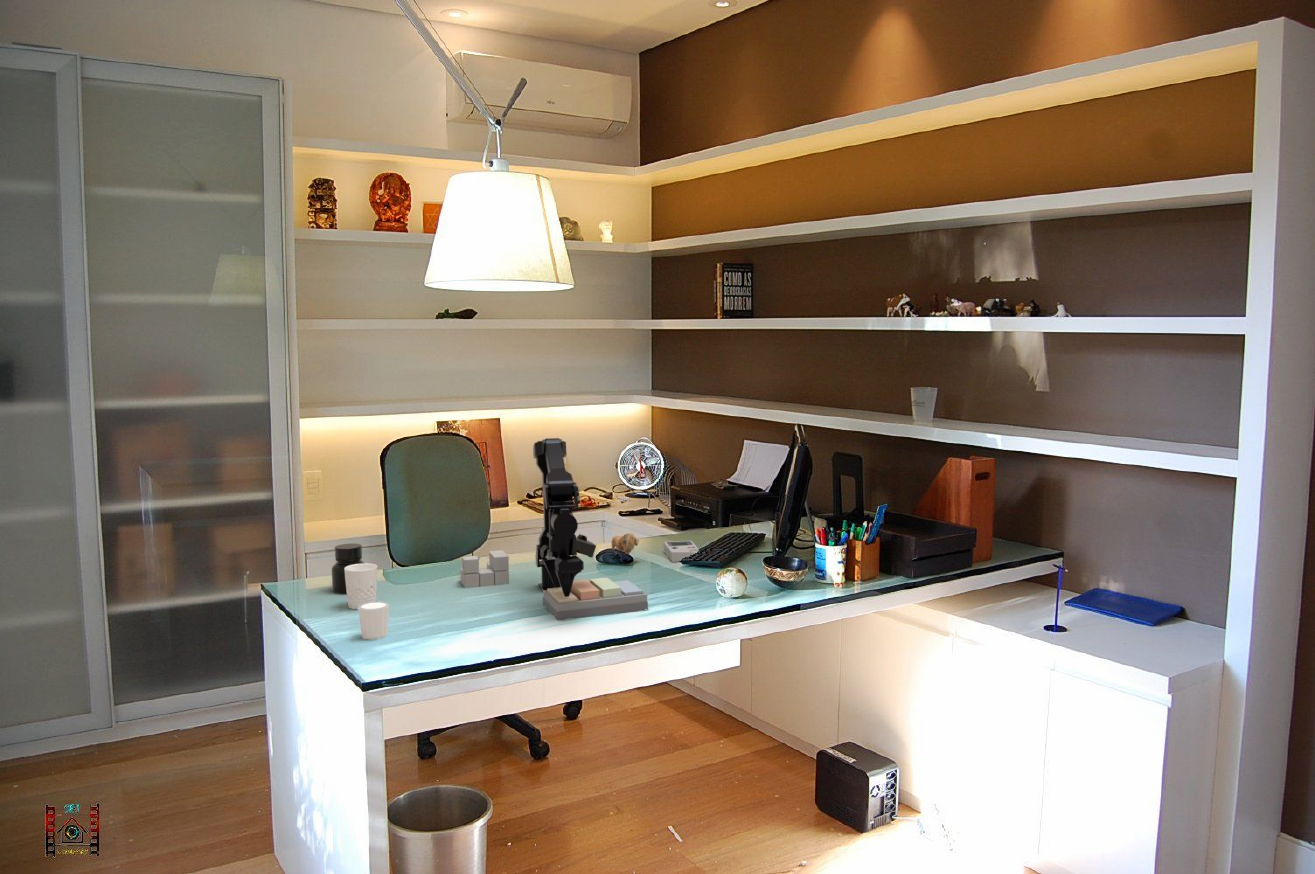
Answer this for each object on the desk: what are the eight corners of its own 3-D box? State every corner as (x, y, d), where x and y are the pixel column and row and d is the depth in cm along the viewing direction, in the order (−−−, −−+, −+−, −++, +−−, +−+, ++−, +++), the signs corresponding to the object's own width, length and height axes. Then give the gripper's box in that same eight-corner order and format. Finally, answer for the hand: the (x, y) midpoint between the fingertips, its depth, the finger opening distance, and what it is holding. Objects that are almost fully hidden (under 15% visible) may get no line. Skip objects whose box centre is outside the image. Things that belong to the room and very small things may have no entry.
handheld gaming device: (671, 563, 285) (671, 551, 284) (663, 552, 299) (663, 540, 299) (700, 562, 286) (700, 550, 286) (691, 551, 300) (691, 539, 300)
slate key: (611, 591, 245) (611, 582, 245) (628, 589, 247) (628, 580, 247) (625, 602, 235) (625, 592, 235) (642, 600, 237) (642, 590, 236)
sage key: (590, 588, 243) (590, 579, 243) (607, 586, 245) (607, 577, 245) (603, 599, 233) (603, 589, 233) (621, 597, 235) (621, 587, 234)
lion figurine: (641, 562, 284) (641, 533, 284) (626, 565, 282) (626, 535, 281) (615, 553, 297) (615, 525, 296) (600, 556, 294) (600, 527, 293)
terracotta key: (568, 590, 241) (568, 581, 241) (586, 588, 243) (586, 579, 243) (581, 601, 231) (581, 592, 231) (599, 599, 233) (599, 590, 232)
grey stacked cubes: (500, 574, 273) (499, 547, 272) (509, 584, 261) (508, 556, 261) (458, 578, 268) (457, 550, 268) (465, 588, 257) (464, 559, 256)
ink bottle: (375, 587, 258) (373, 544, 257) (352, 596, 250) (350, 551, 249) (347, 584, 262) (345, 541, 261) (324, 592, 254) (322, 547, 253)
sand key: (547, 598, 239) (547, 588, 239) (565, 596, 241) (565, 586, 241) (558, 609, 229) (558, 599, 229) (577, 607, 231) (577, 597, 231)
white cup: (384, 603, 243) (383, 564, 242) (365, 611, 236) (364, 571, 235) (358, 600, 246) (357, 562, 245) (339, 608, 239) (337, 569, 238)
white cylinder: (362, 631, 220) (361, 601, 220) (393, 630, 221) (392, 600, 220) (355, 640, 214) (354, 610, 213) (387, 639, 214) (386, 609, 213)
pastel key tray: (543, 604, 241) (542, 590, 240) (629, 595, 249) (629, 581, 248) (557, 620, 228) (557, 604, 227) (647, 609, 236) (647, 594, 235)
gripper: (604, 534, 227) (604, 598, 229) (581, 520, 245) (582, 579, 246) (558, 537, 223) (559, 602, 225) (539, 523, 241) (540, 583, 242)
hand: (561, 591), depth 235 cm, fingers open, 9 cm apart
